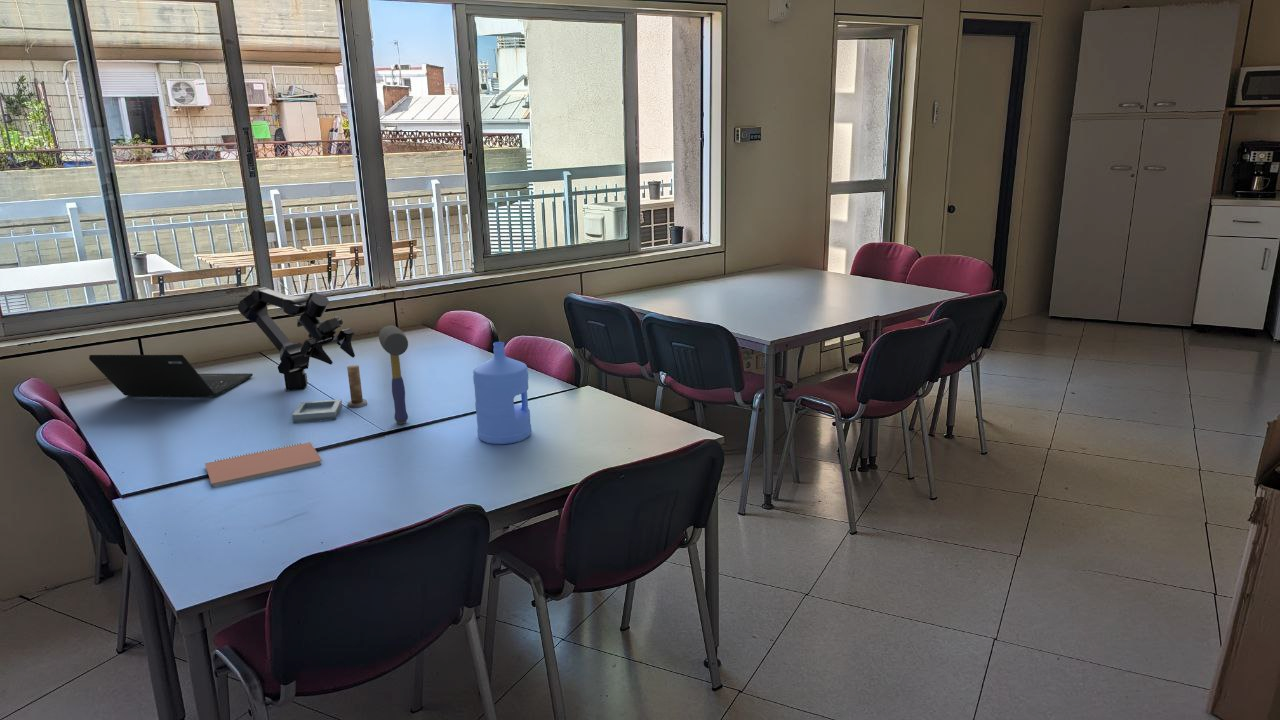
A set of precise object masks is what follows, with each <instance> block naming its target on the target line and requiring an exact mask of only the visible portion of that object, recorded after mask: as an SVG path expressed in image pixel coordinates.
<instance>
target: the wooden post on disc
mask: <svg viewBox="0 0 1280 720" xmlns="http://www.w3.org/2000/svg"><path fill="white" fill-rule="evenodd" d="M346 368H347V375H348V376H347V377H348V384H349V393H350V400H349V401H348V402H347V406H348V408H353V409H355V408H356V409H357V408H363V407H365V406H367V405H368V399H365V398H363V391H362V390H363V389H362V383H361V382H362V381H361V374H360V366H359V364H358V365H356V364H355V365H354V364H352V365H349V366H346Z"/></svg>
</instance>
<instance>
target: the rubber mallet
mask: <svg viewBox="0 0 1280 720" xmlns="http://www.w3.org/2000/svg"><path fill="white" fill-rule="evenodd" d="M378 341H379V343H380V345H381V347H382V349H383V350H384V351H385V352H386V353H387V354H389V355H390V365H391V375H392V378H391V393H392V398H393V404H394V405H393V406H394V417H393V418H394V420H395V422H396V423H397V424H399V425H401V424H406V423H407V421H408V419H409V416H408V412H407V407H406V406H407V405H406V389H405V383H404V378H403V377H402V372H401V363H400V356H401V355H403V354H404V353H405V352H406V351H407V350H408V347H409V341H408V338H407V337H406V333H404V331H403V330H402V329H400V327H397V326H396V325H390V324H389V325H386V326H384V327H382V328H381V329H380V330H379V333H378Z"/></svg>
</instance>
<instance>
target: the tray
mask: <svg viewBox="0 0 1280 720" xmlns="http://www.w3.org/2000/svg"><path fill="white" fill-rule="evenodd" d="M342 401H343V400H342V398H340V399H339V398H338V399H325V400H324V399H323V400H312V401H300V403H299V404H298V405H297V407H296V408H295V410H294V411H293V413H292V421H293V423H294V424H295V423H307V422H319V421H320V420H322V421H331V420H332V419H335V420H337V418H338V415H340V411H341V410H342V408H343V402H342ZM332 421H333V420H332Z"/></svg>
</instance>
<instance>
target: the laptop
mask: <svg viewBox="0 0 1280 720" xmlns="http://www.w3.org/2000/svg"><path fill="white" fill-rule="evenodd" d="M88 359H89V361H90V362H91V363H92V364H93V365H94V366H95V367H96V368H97V369H98V370H99V371H100V372H101V374H103V375H104V377H105V378H106V379H108V381H110V383H112V384H113V386H115V387H116V389H118V391H119V392H120V393H122V394H123V396H128V397H130V398H131V397H147V398H148V397H150V398H151V397H157V398H158V397H160V398H161V397H162V398H163V397H170V398H171V397H173V398H174V397H183V398H184V397H189V398H191V397H192V398H193V397H200V398H201V397H203V398H205V397H207V398H208V397H210V398H214V397H218V396H220V395H221V394H223V393H226V392H227V391H229V390H230V389H231V390H232V389H233V388H234V387H235V386H238V385H240V384H241V383H243V382H245V381H247V380H248V379H250V378H252V377H253V375H254V373H253V372H252V373H245V372H243V373H199V372H198V371H196V369H195V368H194V367H193V366H192V364H191V363H190V362H189V360H188V359H187V358H186V357H185V356H184V355H183V354H89V356H88Z"/></svg>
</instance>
